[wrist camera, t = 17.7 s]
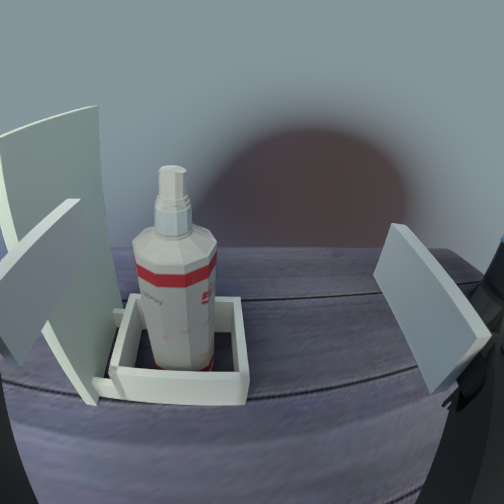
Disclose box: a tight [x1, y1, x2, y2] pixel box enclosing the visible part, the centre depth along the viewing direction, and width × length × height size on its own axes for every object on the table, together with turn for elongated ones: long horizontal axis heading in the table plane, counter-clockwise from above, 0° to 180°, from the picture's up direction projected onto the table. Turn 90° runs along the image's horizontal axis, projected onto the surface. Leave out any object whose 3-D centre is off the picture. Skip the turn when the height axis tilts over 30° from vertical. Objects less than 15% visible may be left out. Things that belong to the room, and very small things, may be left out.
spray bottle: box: [132, 165, 217, 372], centre depth 29 cm, size 8×8×25 cm
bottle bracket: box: [0, 105, 250, 406], centre depth 28 cm, size 20×18×30 cm
